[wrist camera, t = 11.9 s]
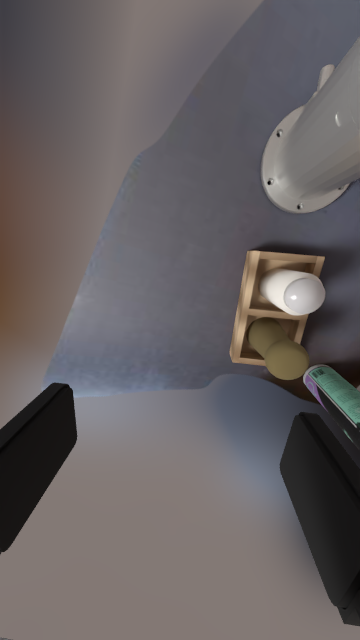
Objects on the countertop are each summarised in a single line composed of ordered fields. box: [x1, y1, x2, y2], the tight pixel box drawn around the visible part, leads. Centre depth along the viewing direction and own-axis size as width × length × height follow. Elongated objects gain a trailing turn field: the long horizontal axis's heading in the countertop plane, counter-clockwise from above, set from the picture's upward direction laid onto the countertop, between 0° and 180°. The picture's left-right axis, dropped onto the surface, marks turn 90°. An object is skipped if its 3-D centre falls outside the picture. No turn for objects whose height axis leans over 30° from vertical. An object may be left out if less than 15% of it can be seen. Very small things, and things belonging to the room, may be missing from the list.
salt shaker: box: [258, 268, 325, 316], centre depth 28 cm, size 5×5×10 cm
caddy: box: [230, 251, 325, 366], centre depth 34 cm, size 18×10×4 cm, turn 175°
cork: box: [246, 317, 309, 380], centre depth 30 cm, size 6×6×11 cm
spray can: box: [303, 364, 360, 450], centre depth 29 cm, size 6×6×20 cm
